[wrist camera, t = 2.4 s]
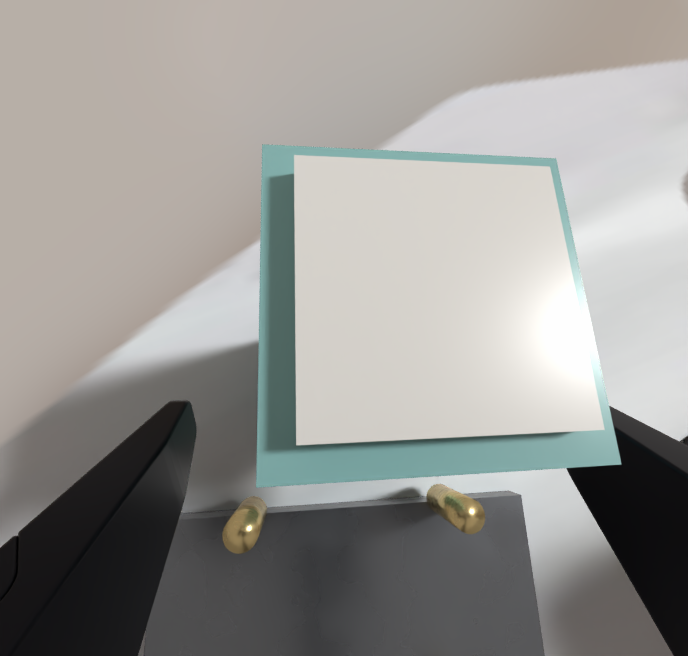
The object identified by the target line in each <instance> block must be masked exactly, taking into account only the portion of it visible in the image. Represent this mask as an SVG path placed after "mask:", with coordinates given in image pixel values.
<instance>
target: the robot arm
mask: <svg viewBox="0 0 688 656" xmlns="http://www.w3.org/2000/svg"><path fill="white" fill-rule="evenodd" d="M609 408H610V413H611V417H612V422H613V427H614V431H615V436H616V441H617V445H618V450H619V455H620V459H621V465H605V466H590V467H574V468H567V470H568V473H569V475H570V476H571V478H572V480H573V482H574V484H575V485H576V487H577V489H578V491H579V492H580V494H581V496H582V498H583V499H584V501H585V503H586V504H587V506H588V508H589V510H590V511H591V513H592V515H593V517H594V518H595V520H596V522H597V524H598V525H599V527H600V529H601V530H602V532H603V534H604V536H605V537H606V539H607V541H608V543H609V544H610V546H611V548H612V550H613V551H614V553H615V555H616V556H617V558H618V560H619V562H620V563H621V565H622V567H623V569H624V570H625V572H626V574H627V576H628V577H629V579H630V581H631V582H632V584H633V586H634V588H635V589H636V591H637V593H638V595H639V596H640V598H641V600H642V602H643V603H644V605H645V607H646V608H647V610H648V612H649V614H650V615H651V617H652V619H653V621H654V622H655V624H656V626H657V628H658V629H659V631H660V633H661V634H662V636H663V638H664V640H665V641H666V643H667V645H668V647H669V648H670V650H671V652H672V654H673V655H674V656H688V446H687V445H685V444H683V443H681V442H679V441H677V440H675V439H673V438H671V437H669V436H667V435H665V434H663V433H661V432H659V431H657V430H655V429H653V428H651V427H650V426H648V425H646V424H644V423H642V422H640V421H638V420H636V419H634V418H632V417H630V416H628V415H626V414H624V413H622V412H620V411H618V410H616V409H614V408H613V407H611V406H609ZM195 439H196V422H195V418H194V414H193V409H192V405H191V403H190V402H189V401H188V400H177V401H170V402H168V403H167V404H166V405H165V406H164V407H162V408H161V409H160V410H159V411H158V412H157V413H156V414H154V415H153V416H152V417H151V418H150V419H149V420H147V421H146V422H145V423H144V424H143V425H142V426H141V427H139V428H138V429H137V430H136V431H135V432H134V433H132V434H131V435H130V436H129V437H128V438H127V439H126V440H124V441H123V442H122V443H121V444H120V445H119V446H117V447H116V448H115V449H114V450H113V451H112V452H111V453H109V454H108V455H107V456H106V457H105V458H104V459H102V460H101V461H100V462H99V463H98V464H97V465H96V466H94V467H93V468H92V469H91V470H90V471H89V472H87V473H86V474H85V475H84V476H83V477H82V478H81V479H79V480H78V481H77V482H76V483H75V484H74V485H72V486H71V487H70V488H69V489H68V490H67V491H66V492H64V493H63V494H62V495H61V496H60V497H59V498H57V499H56V500H55V501H54V502H53V503H52V504H51V505H49V506H48V507H47V508H46V509H45V510H44V511H42V512H41V513H40V514H39V515H38V516H37V517H35V518H34V519H33V520H32V521H31V522H30V523H29V524H27V525H26V526H25V527H24V528H23V529H22V530H20V531H19V533H18V536H14V537H12V538H11V539H10V540H9V541H8V542H6V543H5V544H4V545H3V546H2V547H1V548H0V656H138V653H139V650H140V646H141V643H142V640H143V636H144V633H145V630H146V627H147V623H148V620H149V617H150V613H151V610H152V607H153V603H154V600H155V597H156V593H157V590H158V587H159V583H160V580H161V577H162V573H163V570H164V567H165V563H166V560H167V557H168V553H169V550H170V547H171V543H172V540H173V537H174V534H175V530H176V527H177V524H178V520H179V517H180V514H181V510H182V507H183V503H184V499H185V494H186V489H187V484H188V478H189V473H190V467H191V461H192V456H193V450H194V445H195Z"/></svg>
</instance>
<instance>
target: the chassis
mask: <svg viewBox="0 0 688 656" xmlns="http://www.w3.org/2000/svg"><path fill="white" fill-rule="evenodd" d="M144 656H545V655H544V648H543V641H542V634H541V627H540V621H539V614H538V607H537V600H536V593H535V587H534V580H533V573H532V566H531V560H530V553H529V546H528V539H527V532H526V526H525V519H524V512H523V505H522V498H521V495H520V494H517V493H514V492H511V491H498V492H484V493H469V494H461V493H459V492H457V491H455V490H453V489H451V488H449V487H447V486H445V485H442V484H436V485H433V486H432V487H431V488H430V489H429V490H428V492H427V497H412V498H398V499H384V500H369V501H355V502H341V503H326V504H312V505H298V506H284V507H269V508H267V506H266V504H265V502H264V501H263V500H262V499H261V498H259V497H256V496H251V497H248V498H246V499H245V500H243V501H242V503H241V504H240V505H239V507H238V508H237V510H226V511H212V512H198V513H183V514H180V517H179V520H178V524H177V527H176V530H175V534H174V537H173V540H172V543H171V547H170V550H169V553H168V557H167V560H166V563H165V567H164V570H163V573H162V577H161V580H160V583H159V587H158V590H157V593H156V597H155V600H154V603H153V607H152V610H151V613H150V617H149V620H148V623H147V627H146V637H145V650H144Z"/></svg>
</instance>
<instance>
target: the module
mask: <svg viewBox="0 0 688 656" xmlns="http://www.w3.org/2000/svg"><path fill="white" fill-rule="evenodd" d="M605 465H621V459H620V455H619V450H618V445H617V441H616V436H615V431H614V427H613V422H612V417H611V413H610V408H609V403H608V399H607V394H606V389H605V385H604V380H603V375H602V371H601V366H600V361H599V357H598V352H597V347H596V343H595V338H594V333H593V329H592V324H591V319H590V315H589V310H588V305H587V301H586V296H585V291H584V287H583V282H582V277H581V273H580V268H579V263H578V259H577V254H576V249H575V245H574V240H573V235H572V231H571V226H570V221H569V217H568V212H567V207H566V203H565V198H564V193H563V189H562V184H561V179H560V174H559V170H558V165H557V160H556V159H554V158H533V157H513V156H492V155H471V154H450V153H429V152H408V151H388V150H366V149H344V148H325V147H304V146H284V145H262V189H261V244H260V301H259V358H258V414H257V471H256V488H258V487H274V486H289V485H305V484H321V483H337V482H353V481H368V480H384V479H400V478H416V477H432V476H447V475H463V474H479V473H495V472H511V471H526V470H542V469H558V468H574V467H590V466H605Z"/></svg>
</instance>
